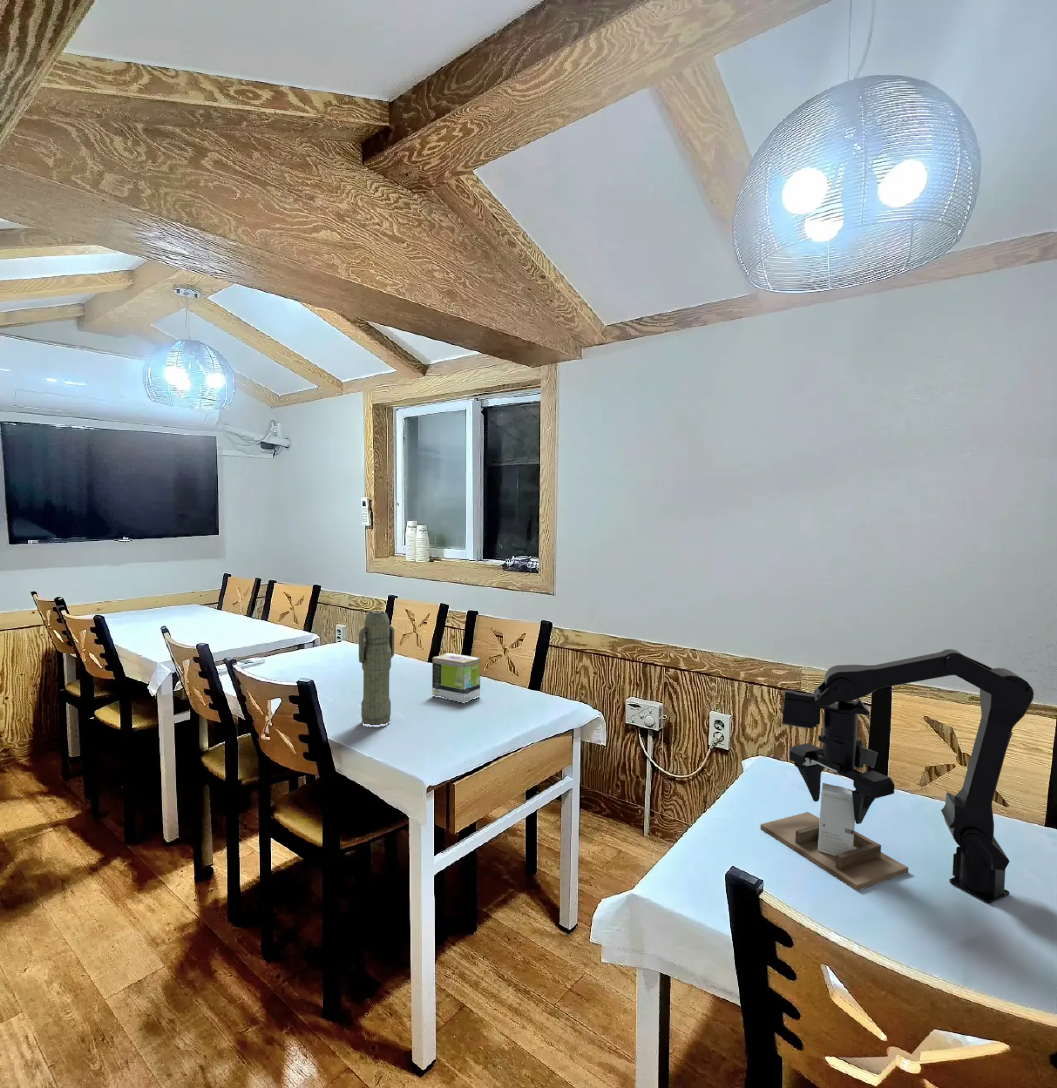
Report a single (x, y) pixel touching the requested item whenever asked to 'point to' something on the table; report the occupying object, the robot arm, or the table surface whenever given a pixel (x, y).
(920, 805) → the table surface
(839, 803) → the skincare box
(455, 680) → the tea box
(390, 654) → the olive robed figurine
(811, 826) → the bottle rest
